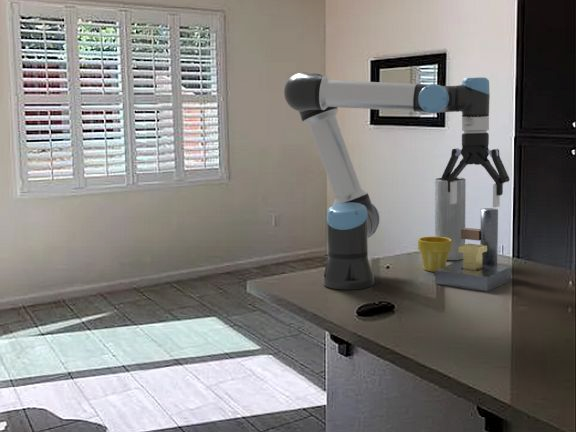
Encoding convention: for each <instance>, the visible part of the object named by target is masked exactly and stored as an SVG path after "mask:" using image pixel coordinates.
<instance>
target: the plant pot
mask: <svg viewBox="0 0 576 432" xmlns="http://www.w3.org/2000/svg"><path fill="white" fill-rule="evenodd" d="M417 249H418V251H419V252H420V257H421V263H422V267H423V270H424V271H428V272H435V270H437V269H439V268H442V267H445V266H447V262H448V260H447V257H448V253H449V251H450V250H451V239H449V238H446V237H435V236H421V237H419V238H417Z"/></svg>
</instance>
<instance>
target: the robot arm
mask: <svg viewBox="0 0 576 432" xmlns="http://www.w3.org/2000/svg"><path fill="white" fill-rule="evenodd" d="M283 90H284V91H283V95H284V99H285V101H286V104H287V105H288V106H289V107H290V108H291V109H292V110H294V111H297V112H298V113H299V115H300V118H301V121H302V123H303V124H304V125H307V126H309V129H310V132H311V134H312V137H313V141H314V143H315V145H316V149H317V152H318V155H319V157H320V160H321V162H322V165H323V167H324V168H323V169H324V170H325V173H326V176H327V180H328V182H329V186H330V187H331V190H332V192H333V193H332V194H333V195H334V201H333V203H332V206H330V207H329V208H328V210H327V212H326V213H327V215H326V224H327V225H326V226H327V227H326V228H327V253H328V254H327V256H328V257H327V261H326V264H325V269H324V272H323V275H322V285H323V286H325V287H326V288H329V289H333V290H347V291H348V290H362V289H365V288H370V287H372V286H373V285H374V284H375V275H374V273H373V270H372V266H371V264H370V260H369V255H368V252H369V250H368V239H369V238H370V237H372V236H373V235H374V234H375V233H376V231H377V230H378V228H379V224H380V219H381V218H380V214H379V213H380V212H379V211H378V208H377V207H376V205H374V204H373V203H372V200H371V198H370V195H369V193H368V191H366V190H363V189H362V188H361V185H360V182H359V179H358V176H357V174H356V170H355V167H354V165H353V163H352V162H353V161H352V159H351V157H350V153H349V152H348V148H347V146H346V143H345V139H344V137H343V134H342V131H341V129H340V125H339V123H338V121H337V120H338V119H337V118H336V115H337V113H338V111H339V108H347V109H364V110H366V109H367V110H380V111H381V110H382V111H383V110H385V111H397V112H398V111H400V112H402V111H403V112H417V113H428V114H438V113H452V112H454V113H455V112H457V113H458V112H461V131H462V134H461V149H460V148H452V149H451V153H450V154H451V155H450V158H449V161H448V162H447V165H446V167H445V169H444V171H443V173H442V175H441V178H442V179H445V180H447V181H448V192H450V204H455V203H457V181H455V179H456V178H458V177H459V175H460V174H461V173H462V171H463V170H465V168H466V167H467V166H468V165H476V166H479V165H480V166H482V167H483V168H484V170H486V172H487V173H488V175H489V176H490V177H491V179H492V180H493V181H494V182H495V184H493V185H492V208H498V207H500V202H501V201H500V199H501V198H500V196H503V193H504V190H503V188H504V184H505V183H508V182H509V181H510V177H509V174H508V173H507V170H506V168H505V166H504V163H503V161H502V158H501V157H500V149H499V148H494V149H489V144H490V143H489V142H490V137H489V132H488V131H489V130H490V100H491V99H490V81H489V79H488V78H487V77H480V76H479V77H465V78H463V79H462V81H461V84H458V85H440V84H436V83H435V84H434V83H430V84H428V83H427V84H425V83H422V84H421V83H403V82H400V83H399V82H384V81H383V82H379V81H377V82H376V81H362V80H361V81H355V80H337V79H335V80H333V79H329V77H328V76H326V75H322V74H320V73H314V72H313V73H310V72H298V73H295V74H293V75H292V76H291V77H289V79H287V81H286V83H285V85H284V89H283ZM460 156H462V159H461V160H460V161H459V163H458V165H457V166H456V164H457V162H458V159H459V157H460ZM489 156H490V158H491V159H492V162H493V164H494V166H495V168H494V166H493V164H492V163H491V161H490V160H489V159H488V157H489ZM455 166H456V167H455Z"/></svg>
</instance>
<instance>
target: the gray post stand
mask: <svg viewBox="0 0 576 432" xmlns="http://www.w3.org/2000/svg"><path fill="white" fill-rule="evenodd" d="M498 236H499V209H498V208H494V207H492V208H491V207H490V208H488V207H487V208H480V228H472V227H465V228H463V229H461V239H465V240H470V241H477V242H478V241H479V243H480V244H479V245H486V246H487V251H486V252H483V253H482V270H480V271H471V270H464V269H463V259H461V260H456V261H454V262H453V263H450V264H446V266H445V267H442V268H439V269H437V270H435V271H434V273H435V274H434V281H435V285H443V286H447V287H448V286H449V287H455V288H456V287H457V288H460V289H461V288H463V289H468V290H474V291H475V290H476V291H481V292H490V291H491V290H493V289H495V288H497V287H499V286H501V285H503V284H505V283H507V282H509V281H511V279H512V278H511V277H512V272H511V271H512V266H509V265H503V264H498V257H499V256H498V254H499V253H498V252H499V251H498V250H499V249H498V248H499V247H498V246H499V245H498V242H499V241H498V240H499V237H498Z"/></svg>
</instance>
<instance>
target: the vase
mask: <svg viewBox="0 0 576 432" xmlns="http://www.w3.org/2000/svg"><path fill="white" fill-rule="evenodd" d="M455 181H457V203H455V204H450V192H448V181H447V180H445V179H442V177H437V178H435V180H434V237H446V238H449V239H451V250H450V251H449V253H448V257H447V261H460V260H463V253H460V252H458V247H460V246H463V245H465V244H466V239H461V229H463V228H466V185H467V184H466V181H467V180H466V178H464V177H457V178H456V179H455Z"/></svg>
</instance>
